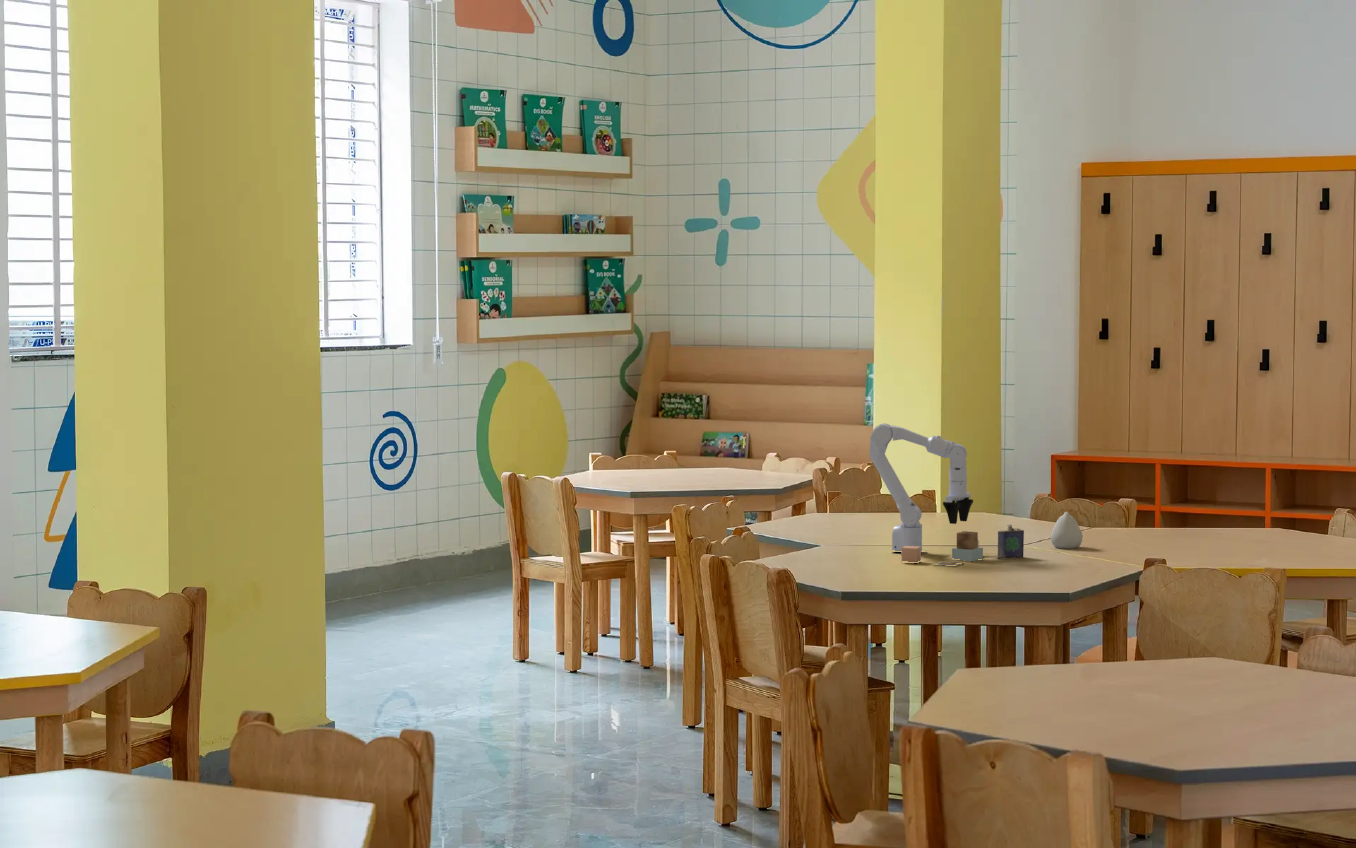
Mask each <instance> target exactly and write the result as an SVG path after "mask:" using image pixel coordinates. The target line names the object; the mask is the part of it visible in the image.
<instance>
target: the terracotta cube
mask: <svg viewBox="0 0 1356 848" xmlns="http://www.w3.org/2000/svg"><path fill="white" fill-rule="evenodd" d="M921 556H922V553H921V546H904V547H902V553H901V562H902V561H908V562H918V561H920V560H921V559H922V557H921ZM921 561H922V560H921Z"/></svg>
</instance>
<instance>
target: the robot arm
mask: <svg viewBox="0 0 1356 848" xmlns="http://www.w3.org/2000/svg"><path fill="white" fill-rule="evenodd" d="M869 438H870V439H869V441H870V442H869V453H868V455H869V458H870V459H871V461H872V463H873V466H874V467H875V469H876V470H877V472H878V474H879V476H880V477H881V479H882V481H883V483H884V485H885V486H886V488H887V490H888V491H889V494H890V495H891V497H892V498H893V500H894V502H895V504H896V508H897V510H898V512H899V514H900V517H899V518H900V521H901V523H899V525H897V524H896V525H895V526H894V527H893V529H892V533H891V551H892V550H895V551H902V547H904V546H921V551H922V550H923V524H922V523H921V522H920V520H921V518H922V514H923V513H922V510H921V508H920V507H919V506H918V505H917V504H915V503H914V501H913V500H912V498H911V497H910V496H909V494H908V493H907V491H906V489H905V487H904V485H903V484H902V482H901V480H900V478H899V477H898V475H897V473H896V471H895V469H894V468H893V466H892V464H891V463H890V461H889V459H888V458H887V456H886V451H887V449H888V445H889V444H890V443H891V441H893V442H894V441H899V440H902V441H903V440H904V441H907V442H910V443H913V444H916V445H919V446H922V447H925V449H926V451H927V452H928V453H930V454H932V455H935V456H937V457H941V458H944V459H947V458H949V468H948V486H949V487H948V494H947V495H946V496H945V498H944V499H945V500H944V501H943V502H942V506H943V507H944V509H945V511H946V515H947V517H948V522H949V524H950V525H956V524H957V523H958V518H959V522H968V518H969V517H968V516H969V513H970V510H971V507H972V505H973V503H974V499H972V497H971V495H972V494H971V492H968V467H967V455H968V452H967V448H966V447H965V446H964V445H962V444H961V443H956V442H955V441H954V440H951V441H950V440H947V439H945V438H942V436H941V435H939V434H938V435H936V436H935V435H932V436H930V437H927V436H925V435H922V434H920V433H918V432H917V433H916V432H914V431H912V430H909V429H907V428H904V427H901V426H897V425H893V424H892V425H890V424H889V423H880V424H879V425H876V426H875V427H874V428H873V430H872V433H871V435H870V436H869ZM924 550H925V549H924ZM925 551H927V552H928V550H925Z"/></svg>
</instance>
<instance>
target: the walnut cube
mask: <svg viewBox="0 0 1356 848" xmlns="http://www.w3.org/2000/svg"><path fill="white" fill-rule="evenodd" d="M978 535H979V533H978V532H977V531H965V530H963V531H959V532H956V548H957V549H969V550H972V549H975V548H978V540H979V536H978Z"/></svg>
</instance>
